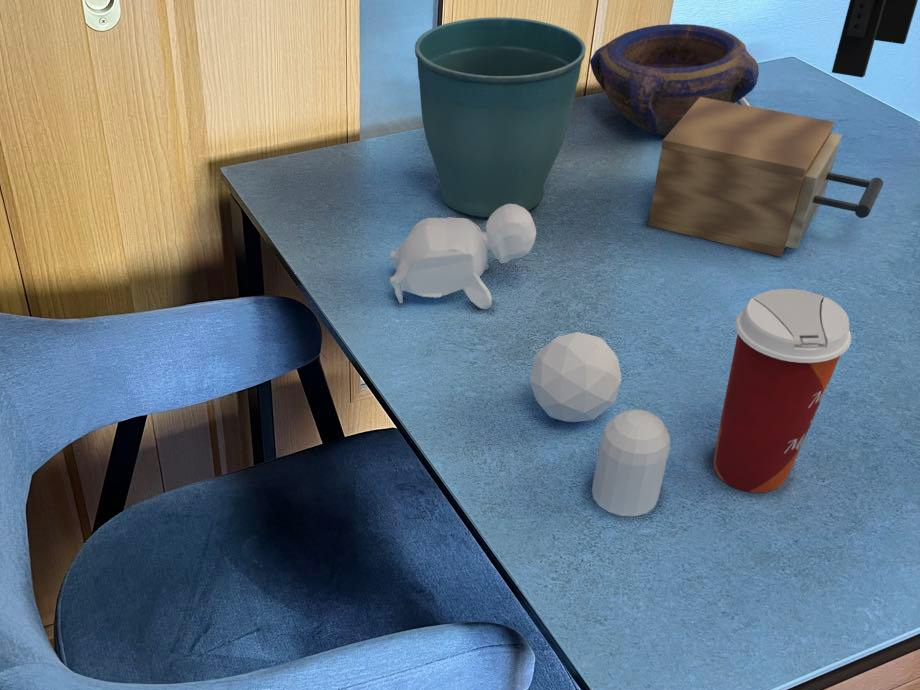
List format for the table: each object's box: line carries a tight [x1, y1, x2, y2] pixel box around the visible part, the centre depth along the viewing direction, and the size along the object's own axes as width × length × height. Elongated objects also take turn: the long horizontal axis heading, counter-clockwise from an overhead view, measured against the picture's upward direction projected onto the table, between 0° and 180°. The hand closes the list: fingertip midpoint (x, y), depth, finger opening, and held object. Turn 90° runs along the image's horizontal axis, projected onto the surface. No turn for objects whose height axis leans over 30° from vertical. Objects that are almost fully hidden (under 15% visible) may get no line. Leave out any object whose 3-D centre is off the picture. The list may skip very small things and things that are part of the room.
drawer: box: [785, 132, 884, 250], centre depth 111 cm, size 19×12×8 cm, turn 60°
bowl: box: [589, 23, 760, 137], centre depth 131 cm, size 18×18×10 cm
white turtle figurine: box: [389, 204, 537, 310], centre depth 104 cm, size 9×8×15 cm
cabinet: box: [647, 97, 835, 258], centre depth 113 cm, size 15×13×10 cm
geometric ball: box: [529, 331, 622, 423], centre depth 89 cm, size 8×8×8 cm
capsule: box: [591, 409, 671, 517], centre depth 81 cm, size 5×5×8 cm
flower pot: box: [414, 16, 587, 218], centre depth 115 cm, size 18×18×17 cm
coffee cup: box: [713, 288, 852, 494], centre depth 81 cm, size 8×8×15 cm
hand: (869, 57), depth 96 cm, fingers open, 13 cm apart
